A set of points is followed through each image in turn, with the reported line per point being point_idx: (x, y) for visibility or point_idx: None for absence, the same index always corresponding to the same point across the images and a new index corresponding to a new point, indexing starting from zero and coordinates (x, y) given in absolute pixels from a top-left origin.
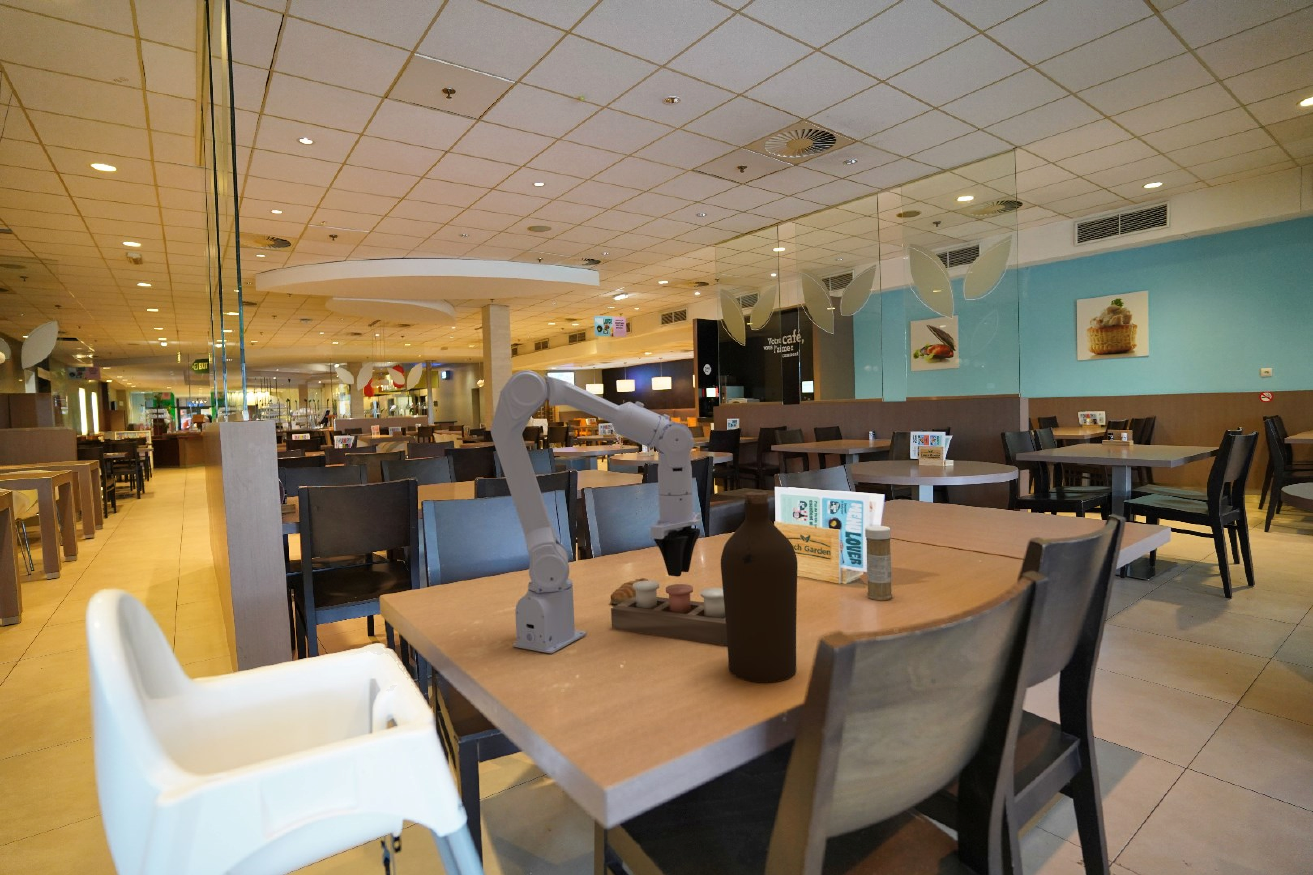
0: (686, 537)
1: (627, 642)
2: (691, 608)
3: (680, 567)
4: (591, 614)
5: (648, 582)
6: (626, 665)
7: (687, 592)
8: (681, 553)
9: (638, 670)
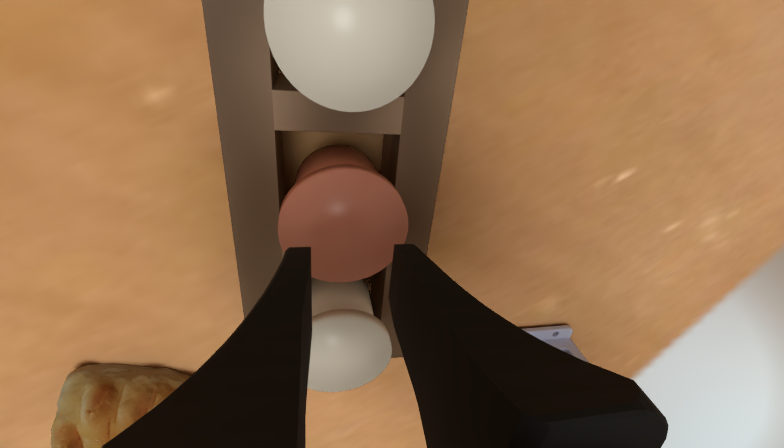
0: (570, 410)
1: (480, 237)
2: (278, 162)
3: (434, 264)
4: (318, 397)
5: (314, 361)
6: (622, 166)
7: (377, 174)
8: (476, 319)
9: (653, 125)
